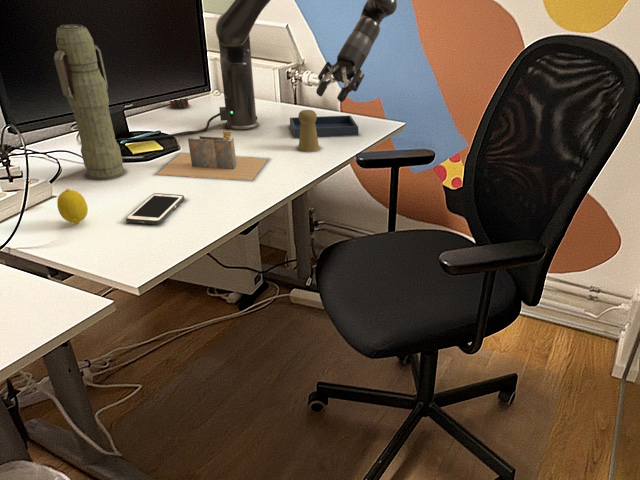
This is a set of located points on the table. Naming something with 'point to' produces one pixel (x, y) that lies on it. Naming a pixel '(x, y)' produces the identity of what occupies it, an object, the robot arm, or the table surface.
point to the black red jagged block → (179, 104)
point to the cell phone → (155, 208)
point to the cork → (308, 131)
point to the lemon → (72, 206)
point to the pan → (328, 126)
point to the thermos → (88, 100)
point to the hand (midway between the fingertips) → (328, 97)
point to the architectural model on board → (213, 160)
